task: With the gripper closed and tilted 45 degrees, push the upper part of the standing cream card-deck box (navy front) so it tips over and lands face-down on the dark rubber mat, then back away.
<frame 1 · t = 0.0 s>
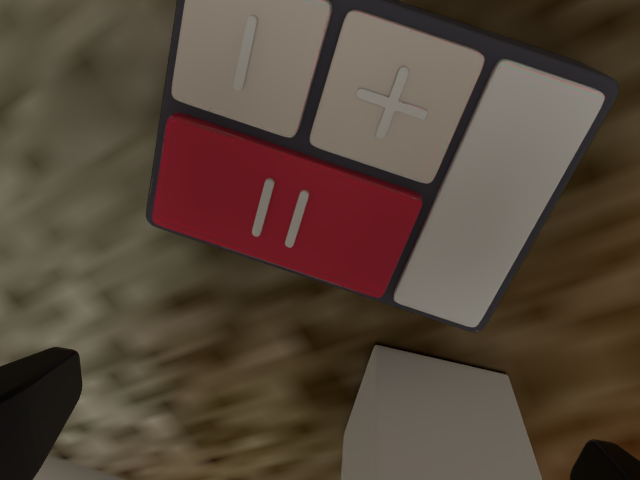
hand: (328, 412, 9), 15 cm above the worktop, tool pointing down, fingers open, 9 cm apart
milk carton: (420, 402, 29), on the worktop
calculator: (358, 136, 22), on the worktop
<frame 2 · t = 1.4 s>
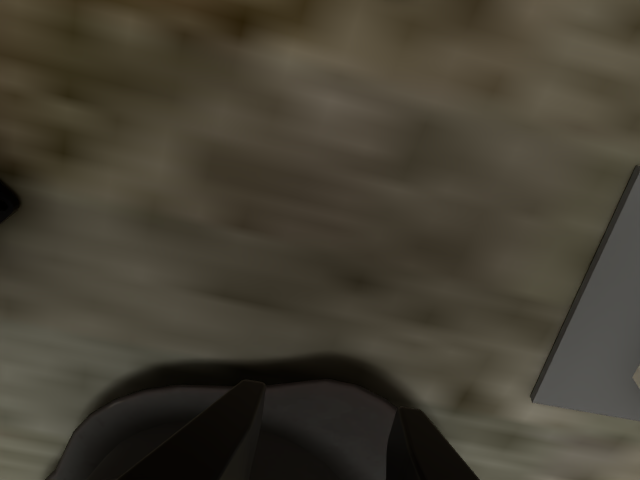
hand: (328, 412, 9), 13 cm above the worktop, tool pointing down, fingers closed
casserole: (234, 478, 31), on the worktop
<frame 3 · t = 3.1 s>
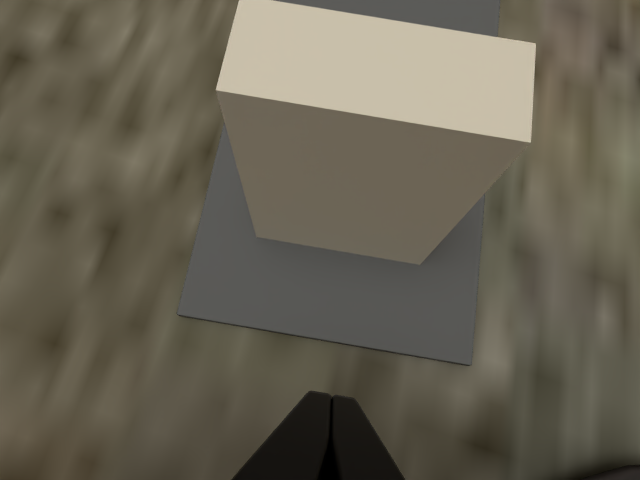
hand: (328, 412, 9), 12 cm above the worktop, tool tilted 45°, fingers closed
deck box: (342, 222, 22), resting on mat
mat: (358, 125, 24), on the worktop
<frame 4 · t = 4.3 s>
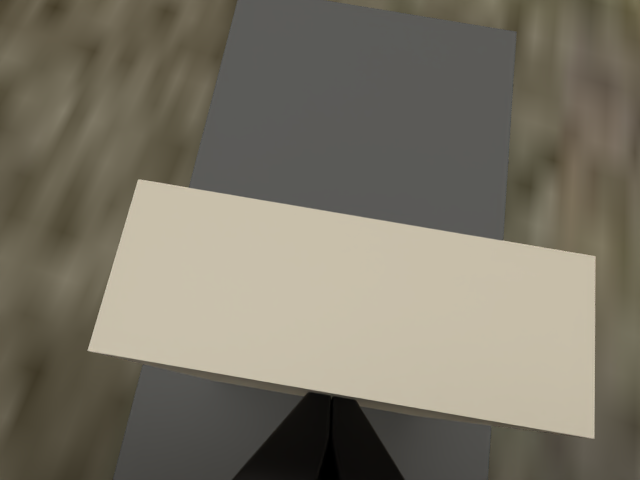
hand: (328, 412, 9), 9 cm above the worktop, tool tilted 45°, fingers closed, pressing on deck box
deck box: (321, 359, 18), resting on mat, touching gripper
mat: (342, 229, 20), on the worktop
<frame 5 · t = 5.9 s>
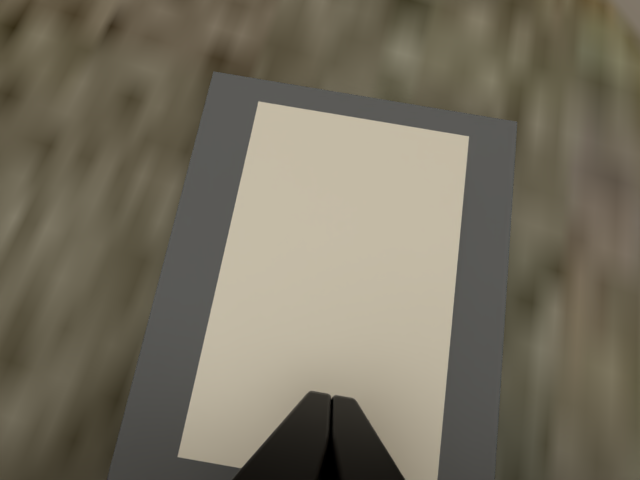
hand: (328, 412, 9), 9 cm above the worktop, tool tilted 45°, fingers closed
deck box: (305, 472, 15), point 2 cm above the worktop, tilted 90°, touching mat
mat: (322, 355, 18), on the worktop
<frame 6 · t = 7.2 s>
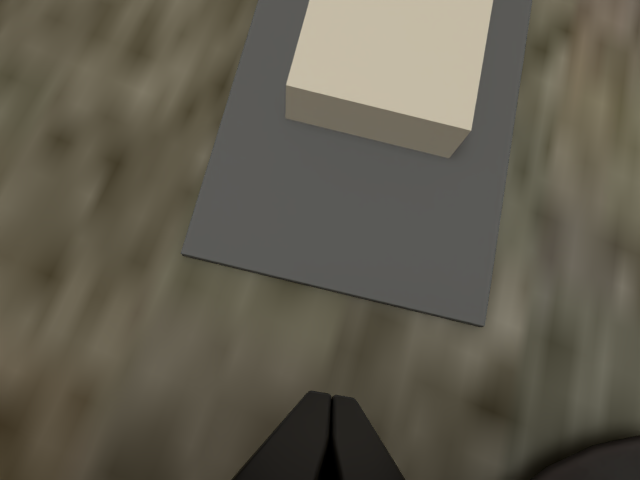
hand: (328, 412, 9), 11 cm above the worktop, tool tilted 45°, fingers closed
deck box: (372, 124, 20), point 2 cm above the worktop, tilted 90°, touching mat
mat: (381, 71, 23), on the worktop
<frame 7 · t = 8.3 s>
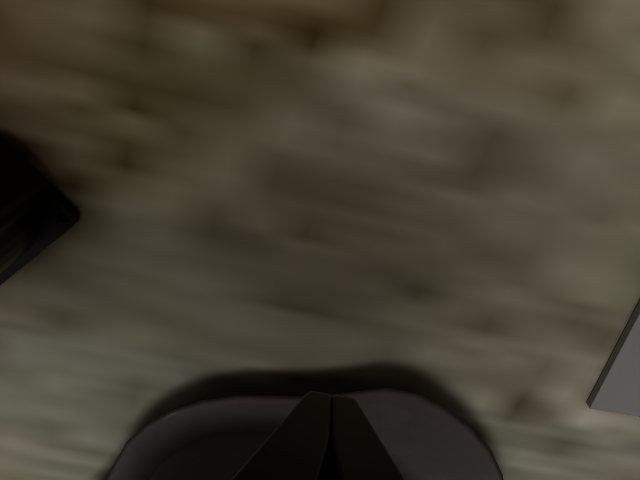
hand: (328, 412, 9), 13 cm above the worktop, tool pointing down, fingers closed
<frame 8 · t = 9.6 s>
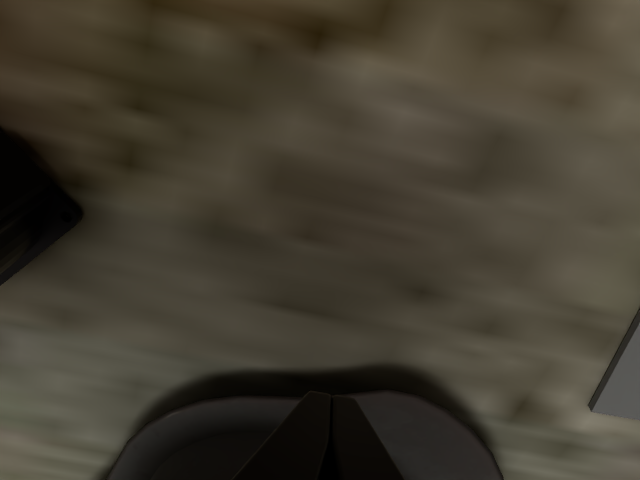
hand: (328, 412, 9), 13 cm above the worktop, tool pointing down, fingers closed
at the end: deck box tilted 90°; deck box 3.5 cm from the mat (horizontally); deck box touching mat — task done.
